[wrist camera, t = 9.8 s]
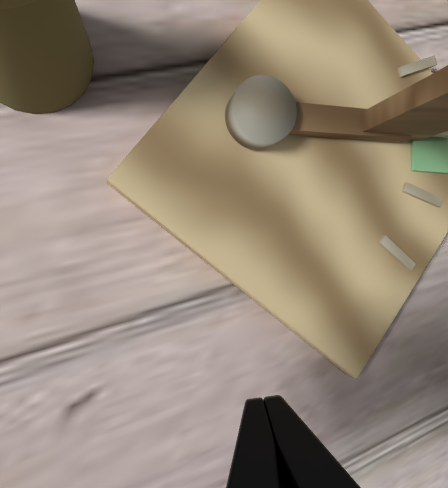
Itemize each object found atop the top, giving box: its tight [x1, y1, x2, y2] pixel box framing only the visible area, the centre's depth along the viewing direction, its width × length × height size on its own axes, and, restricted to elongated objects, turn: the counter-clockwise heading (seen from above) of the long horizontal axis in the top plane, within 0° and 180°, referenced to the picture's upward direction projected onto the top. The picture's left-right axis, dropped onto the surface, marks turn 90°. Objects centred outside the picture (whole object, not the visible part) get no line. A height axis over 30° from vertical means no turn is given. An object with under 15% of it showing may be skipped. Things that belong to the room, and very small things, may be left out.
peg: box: [225, 66, 448, 150], centre depth 19 cm, size 4×16×11 cm, turn 91°
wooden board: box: [107, 0, 448, 379], centre depth 25 cm, size 20×19×2 cm
